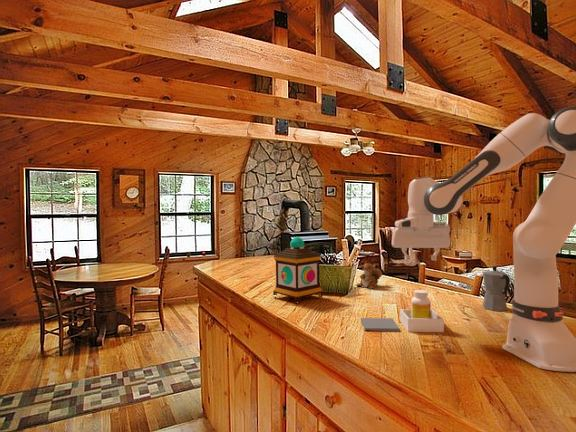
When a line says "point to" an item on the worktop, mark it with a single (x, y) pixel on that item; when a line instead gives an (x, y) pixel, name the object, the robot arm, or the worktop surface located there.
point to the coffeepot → (495, 290)
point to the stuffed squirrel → (370, 276)
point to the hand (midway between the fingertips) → (420, 260)
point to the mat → (380, 324)
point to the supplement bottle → (420, 305)
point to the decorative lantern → (297, 271)
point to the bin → (421, 322)
